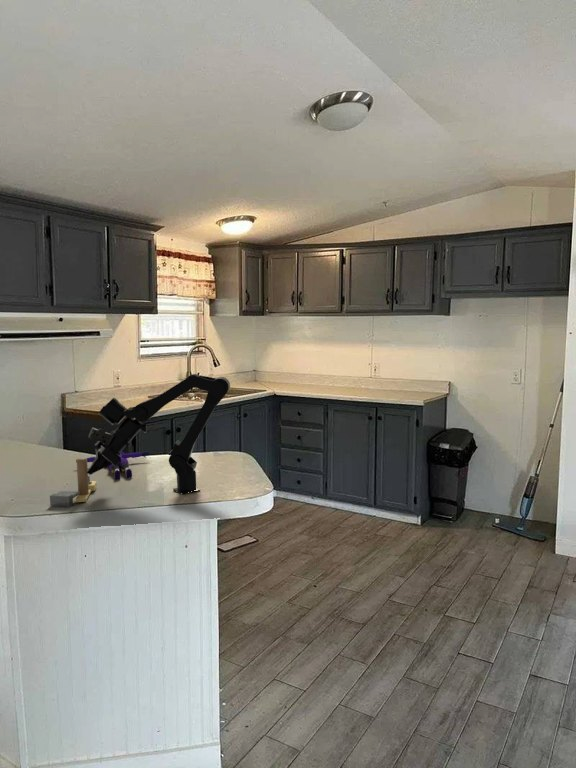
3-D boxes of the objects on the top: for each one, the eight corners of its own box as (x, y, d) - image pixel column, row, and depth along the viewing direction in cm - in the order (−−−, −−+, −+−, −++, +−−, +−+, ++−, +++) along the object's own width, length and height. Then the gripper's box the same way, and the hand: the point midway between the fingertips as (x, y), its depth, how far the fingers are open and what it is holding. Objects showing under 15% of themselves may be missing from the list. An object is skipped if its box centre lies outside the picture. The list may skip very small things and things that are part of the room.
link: (80, 487, 182) (79, 451, 180) (96, 486, 182) (95, 451, 181) (71, 502, 166) (69, 463, 165) (89, 501, 167) (87, 462, 166)
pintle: (97, 490, 179) (96, 476, 179) (83, 493, 177) (83, 479, 176) (91, 487, 183) (90, 474, 182) (78, 490, 180) (77, 476, 179)
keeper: (61, 499, 170) (61, 489, 170) (80, 500, 169) (79, 490, 169) (50, 506, 164) (49, 495, 163) (69, 507, 163) (68, 496, 163)
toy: (162, 476, 199) (146, 457, 226) (162, 461, 198) (145, 444, 225) (81, 486, 188) (74, 465, 214) (81, 470, 187) (73, 451, 214)
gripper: (100, 415, 181) (65, 452, 177) (107, 421, 164) (69, 462, 160) (126, 436, 184) (93, 473, 181) (136, 445, 168) (99, 486, 164)
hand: (88, 473), depth 171 cm, fingers closed, pressing on link
